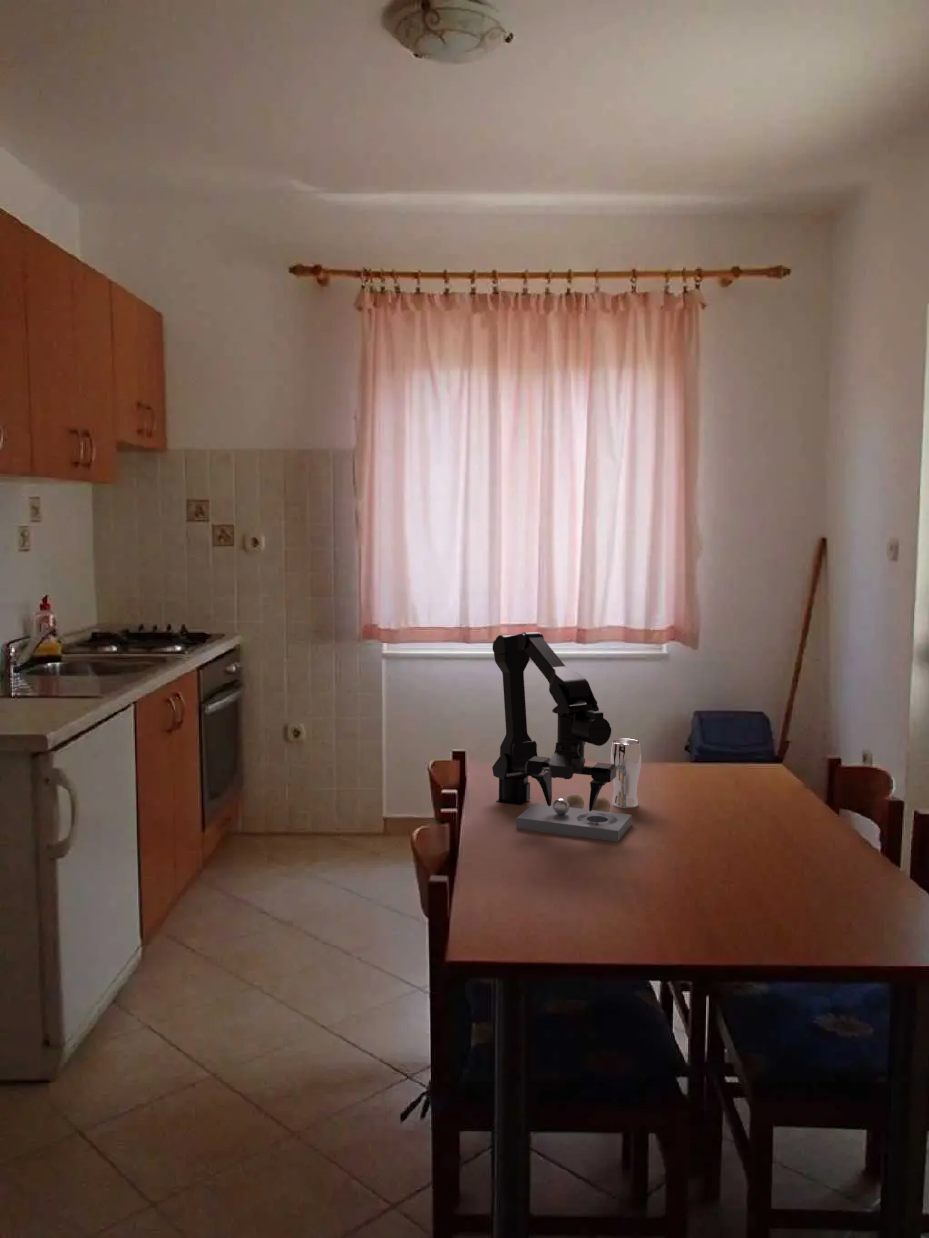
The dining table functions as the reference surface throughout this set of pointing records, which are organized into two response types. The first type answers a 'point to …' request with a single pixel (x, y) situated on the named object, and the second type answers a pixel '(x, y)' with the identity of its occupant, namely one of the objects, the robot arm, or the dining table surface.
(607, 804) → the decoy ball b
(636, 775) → the beer glass
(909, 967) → the dining table surface
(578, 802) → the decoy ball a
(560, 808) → the steel ball
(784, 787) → the dining table surface
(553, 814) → the plate
